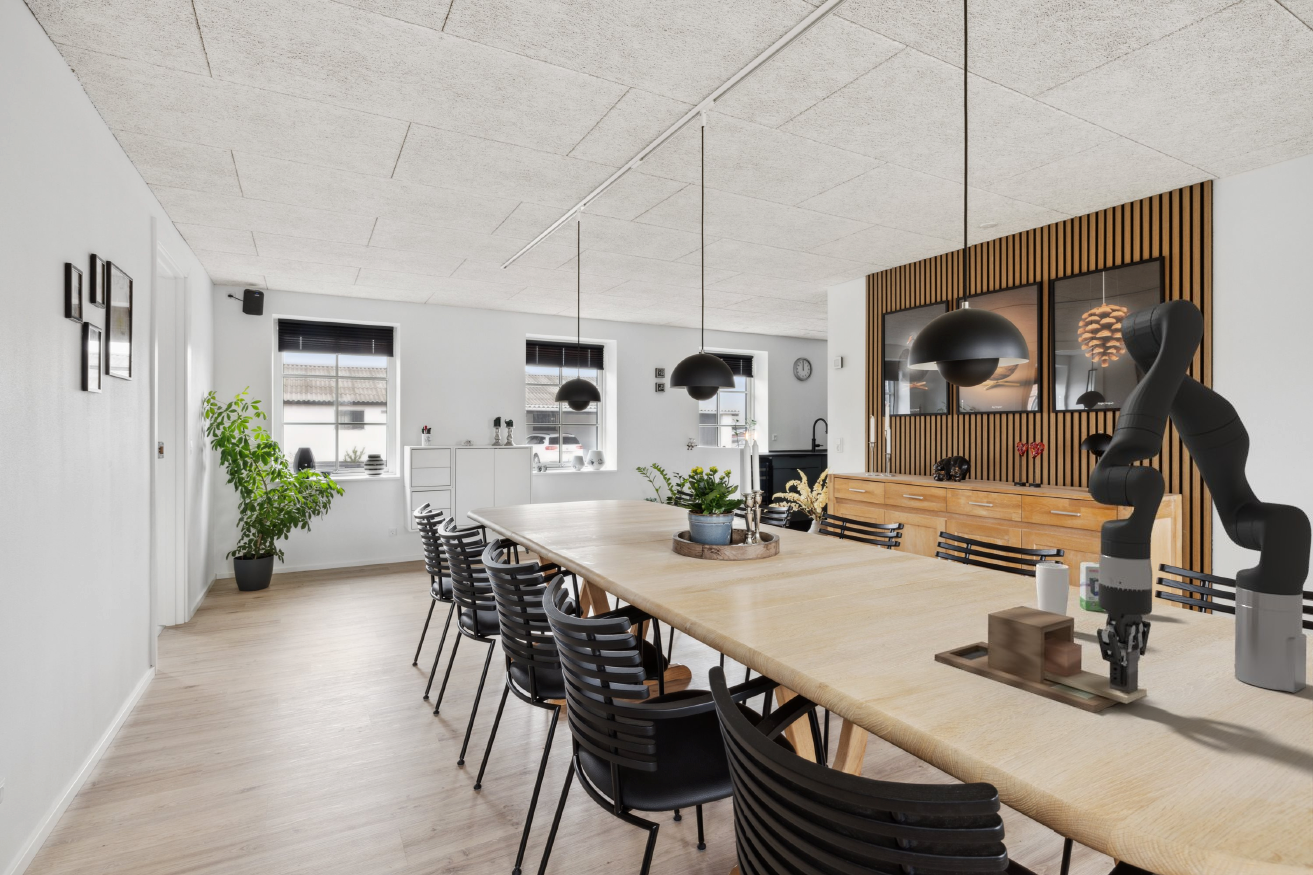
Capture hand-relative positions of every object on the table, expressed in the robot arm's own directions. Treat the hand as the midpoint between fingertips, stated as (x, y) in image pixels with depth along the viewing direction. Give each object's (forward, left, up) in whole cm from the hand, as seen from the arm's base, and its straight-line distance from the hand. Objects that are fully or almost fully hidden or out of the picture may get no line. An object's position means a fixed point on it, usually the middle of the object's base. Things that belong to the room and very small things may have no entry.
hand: (1123, 683), depth 116 cm
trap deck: (+16, 0, -4) cm, 16 cm away
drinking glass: (+30, -34, -4) cm, 45 cm away
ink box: (+33, -63, -4) cm, 71 cm away
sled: (+8, 0, -2) cm, 9 cm away
